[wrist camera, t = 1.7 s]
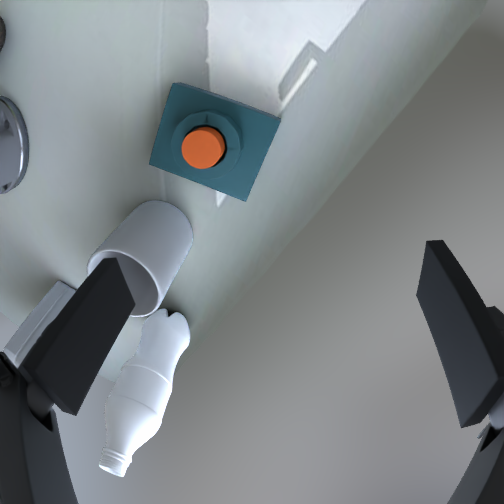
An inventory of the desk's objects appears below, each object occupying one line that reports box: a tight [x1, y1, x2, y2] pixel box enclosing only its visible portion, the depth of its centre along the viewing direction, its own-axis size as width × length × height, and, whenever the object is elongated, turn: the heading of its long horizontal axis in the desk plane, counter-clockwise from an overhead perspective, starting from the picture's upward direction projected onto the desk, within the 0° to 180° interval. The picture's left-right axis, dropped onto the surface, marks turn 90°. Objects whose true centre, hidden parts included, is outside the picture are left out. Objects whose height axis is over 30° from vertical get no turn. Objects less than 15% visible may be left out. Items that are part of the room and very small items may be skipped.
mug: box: [87, 200, 193, 317], centre depth 34 cm, size 12×8×11 cm
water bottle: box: [99, 309, 190, 477], centre depth 35 cm, size 7×7×25 cm
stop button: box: [182, 127, 225, 169], centre depth 27 cm, size 4×4×2 cm
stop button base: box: [149, 82, 281, 202], centre depth 29 cm, size 11×9×4 cm
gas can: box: [3, 280, 76, 368], centre depth 39 cm, size 15×5×25 cm, turn 153°
